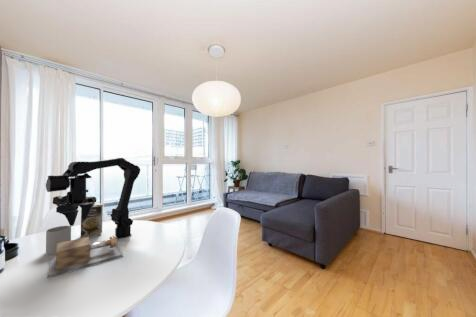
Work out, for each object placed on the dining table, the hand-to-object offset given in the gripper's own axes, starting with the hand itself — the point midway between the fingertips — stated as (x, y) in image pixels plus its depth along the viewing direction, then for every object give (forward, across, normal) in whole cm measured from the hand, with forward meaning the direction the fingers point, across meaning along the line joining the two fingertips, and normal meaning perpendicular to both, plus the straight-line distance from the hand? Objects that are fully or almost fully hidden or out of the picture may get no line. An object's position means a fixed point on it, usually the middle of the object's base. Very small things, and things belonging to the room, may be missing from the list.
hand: (78, 222), depth 87 cm
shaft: (+11, +8, +11) cm, 17 cm away
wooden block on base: (+13, +9, +8) cm, 18 cm away
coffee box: (+14, -19, -4) cm, 24 cm away
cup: (+13, -1, -9) cm, 16 cm away
